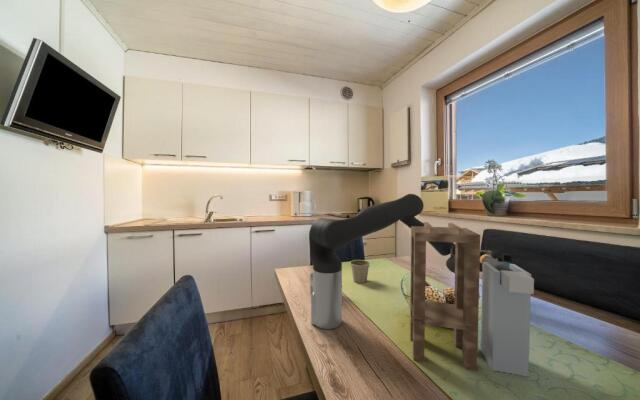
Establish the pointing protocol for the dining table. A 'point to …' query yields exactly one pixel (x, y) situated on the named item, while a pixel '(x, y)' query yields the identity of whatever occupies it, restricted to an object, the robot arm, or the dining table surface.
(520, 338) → the box
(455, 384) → the dining table surface
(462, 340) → the walnut stand
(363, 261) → the flower pot
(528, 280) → the light grey bar
